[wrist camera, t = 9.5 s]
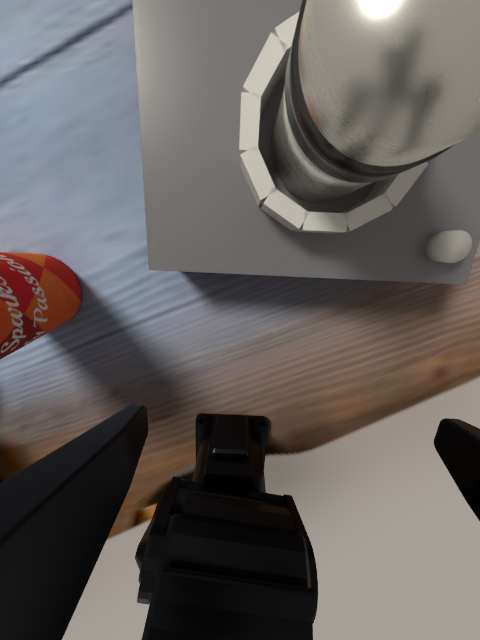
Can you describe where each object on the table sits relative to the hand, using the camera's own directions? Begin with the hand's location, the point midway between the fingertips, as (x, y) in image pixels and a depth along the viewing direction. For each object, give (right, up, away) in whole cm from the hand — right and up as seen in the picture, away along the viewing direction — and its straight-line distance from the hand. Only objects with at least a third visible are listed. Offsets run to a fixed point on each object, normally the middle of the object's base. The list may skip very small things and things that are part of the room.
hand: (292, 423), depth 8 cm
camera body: (+3, +13, +9) cm, 17 cm away
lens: (+3, +12, +5) cm, 13 cm away
